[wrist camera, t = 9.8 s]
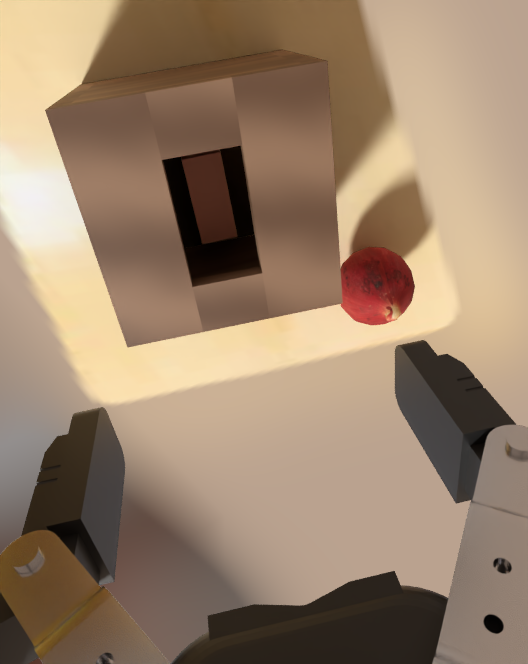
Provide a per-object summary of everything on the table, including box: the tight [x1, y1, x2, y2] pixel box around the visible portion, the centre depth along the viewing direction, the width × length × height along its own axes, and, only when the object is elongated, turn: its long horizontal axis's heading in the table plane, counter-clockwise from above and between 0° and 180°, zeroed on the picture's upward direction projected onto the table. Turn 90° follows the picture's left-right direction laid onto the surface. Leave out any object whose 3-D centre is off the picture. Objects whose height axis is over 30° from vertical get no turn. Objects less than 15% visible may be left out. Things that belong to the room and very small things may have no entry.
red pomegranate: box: [341, 247, 415, 325], centre depth 38 cm, size 6×6×8 cm
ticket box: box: [45, 50, 343, 347], centre depth 31 cm, size 13×13×11 cm
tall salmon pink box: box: [181, 150, 237, 244], centre depth 34 cm, size 5×2×6 cm
